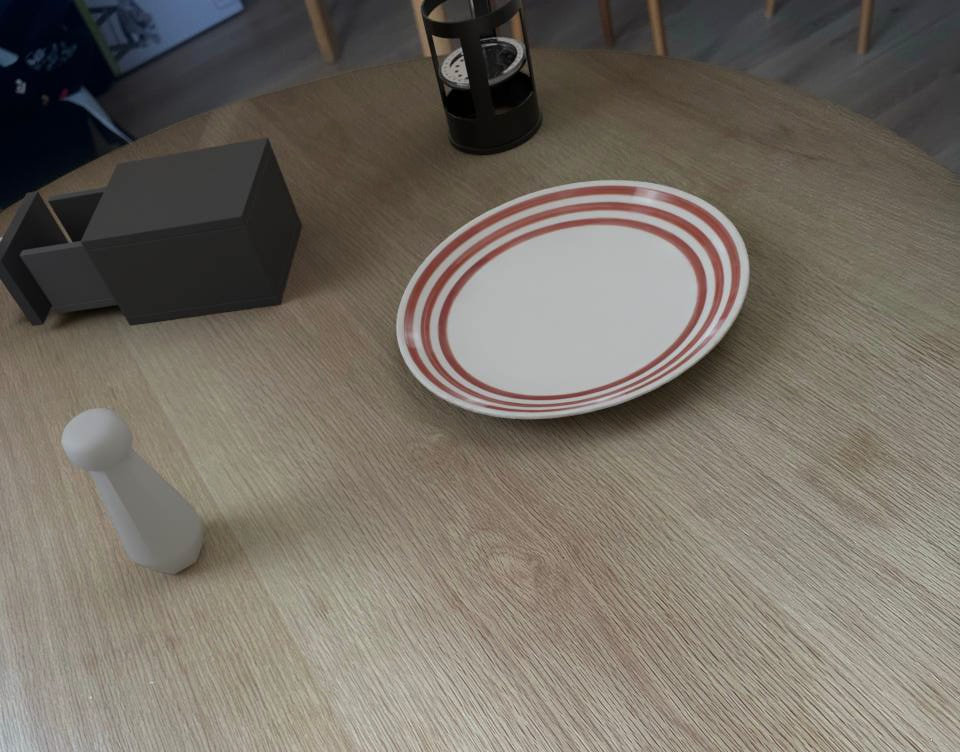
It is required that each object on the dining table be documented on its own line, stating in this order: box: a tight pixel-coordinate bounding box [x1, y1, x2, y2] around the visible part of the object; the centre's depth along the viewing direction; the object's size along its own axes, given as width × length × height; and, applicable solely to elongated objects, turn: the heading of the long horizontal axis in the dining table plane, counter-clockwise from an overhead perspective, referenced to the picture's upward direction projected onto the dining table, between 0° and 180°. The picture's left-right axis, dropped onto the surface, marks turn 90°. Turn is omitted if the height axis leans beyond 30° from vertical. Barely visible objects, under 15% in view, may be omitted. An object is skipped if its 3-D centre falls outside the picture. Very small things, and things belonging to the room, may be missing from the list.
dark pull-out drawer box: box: [0, 186, 118, 327], centre depth 95 cm, size 20×11×7 cm, turn 86°
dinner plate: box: [395, 179, 751, 420], centre depth 80 cm, size 28×27×3 cm
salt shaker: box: [60, 407, 204, 576], centre depth 70 cm, size 6×6×13 cm
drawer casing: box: [81, 137, 303, 326], centre depth 92 cm, size 15×12×9 cm
